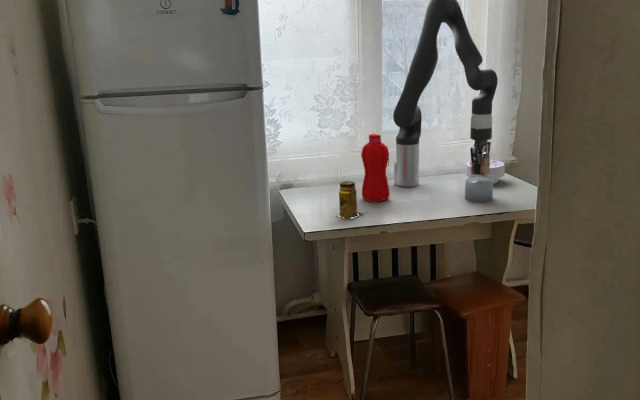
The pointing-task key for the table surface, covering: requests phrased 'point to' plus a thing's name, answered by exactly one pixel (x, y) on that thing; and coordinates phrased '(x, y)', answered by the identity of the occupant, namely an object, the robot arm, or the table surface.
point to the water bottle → (375, 170)
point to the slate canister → (478, 190)
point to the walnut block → (482, 166)
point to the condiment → (348, 200)
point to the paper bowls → (494, 173)
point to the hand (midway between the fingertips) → (479, 171)
